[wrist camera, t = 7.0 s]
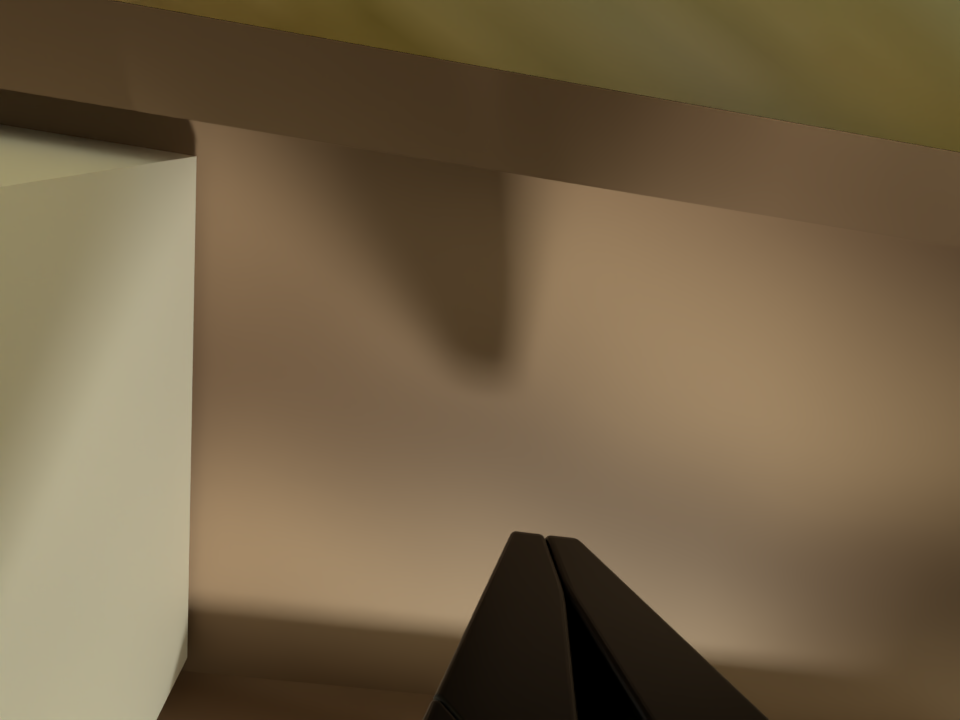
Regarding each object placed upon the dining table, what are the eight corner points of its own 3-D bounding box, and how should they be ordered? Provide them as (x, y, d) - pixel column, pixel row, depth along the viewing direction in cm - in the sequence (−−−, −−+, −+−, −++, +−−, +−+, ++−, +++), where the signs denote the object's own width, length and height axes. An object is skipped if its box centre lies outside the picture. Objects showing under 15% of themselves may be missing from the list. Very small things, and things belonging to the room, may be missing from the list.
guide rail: (915, 739, 14) (1151, 1058, 9) (-266, 625, 12) (-734, 957, 7) (1188, 205, 10) (1808, 281, 6) (-454, -86, 8) (-1652, -350, 4)
